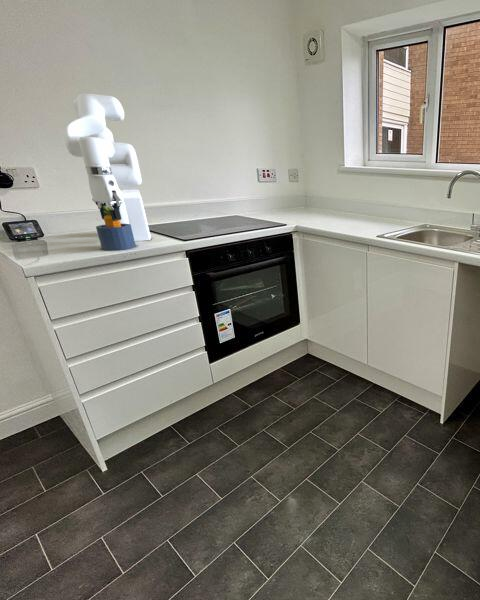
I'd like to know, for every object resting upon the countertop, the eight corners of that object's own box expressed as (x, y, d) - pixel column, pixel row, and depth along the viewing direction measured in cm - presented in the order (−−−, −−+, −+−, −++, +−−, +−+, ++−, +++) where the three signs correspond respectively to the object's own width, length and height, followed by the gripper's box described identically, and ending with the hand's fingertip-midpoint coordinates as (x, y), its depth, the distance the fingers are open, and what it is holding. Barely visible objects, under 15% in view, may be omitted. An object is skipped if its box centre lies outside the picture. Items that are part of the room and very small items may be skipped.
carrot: (128, 242, 147) (119, 205, 142) (118, 244, 143) (108, 206, 137) (117, 241, 148) (108, 205, 142) (107, 243, 143) (97, 206, 138)
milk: (149, 240, 160) (138, 190, 152) (133, 241, 157) (121, 190, 149) (151, 237, 165) (140, 189, 157) (135, 238, 162) (123, 189, 154)
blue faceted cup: (122, 243, 153) (117, 222, 149) (142, 246, 150) (137, 224, 146) (95, 248, 143) (88, 226, 139) (115, 251, 140) (109, 229, 136)
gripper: (125, 172, 136) (136, 219, 143) (94, 171, 141) (106, 216, 147) (105, 172, 130) (118, 222, 136) (73, 171, 134) (86, 219, 141)
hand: (111, 219), depth 142 cm, fingers closed on carrot, 4 cm apart
